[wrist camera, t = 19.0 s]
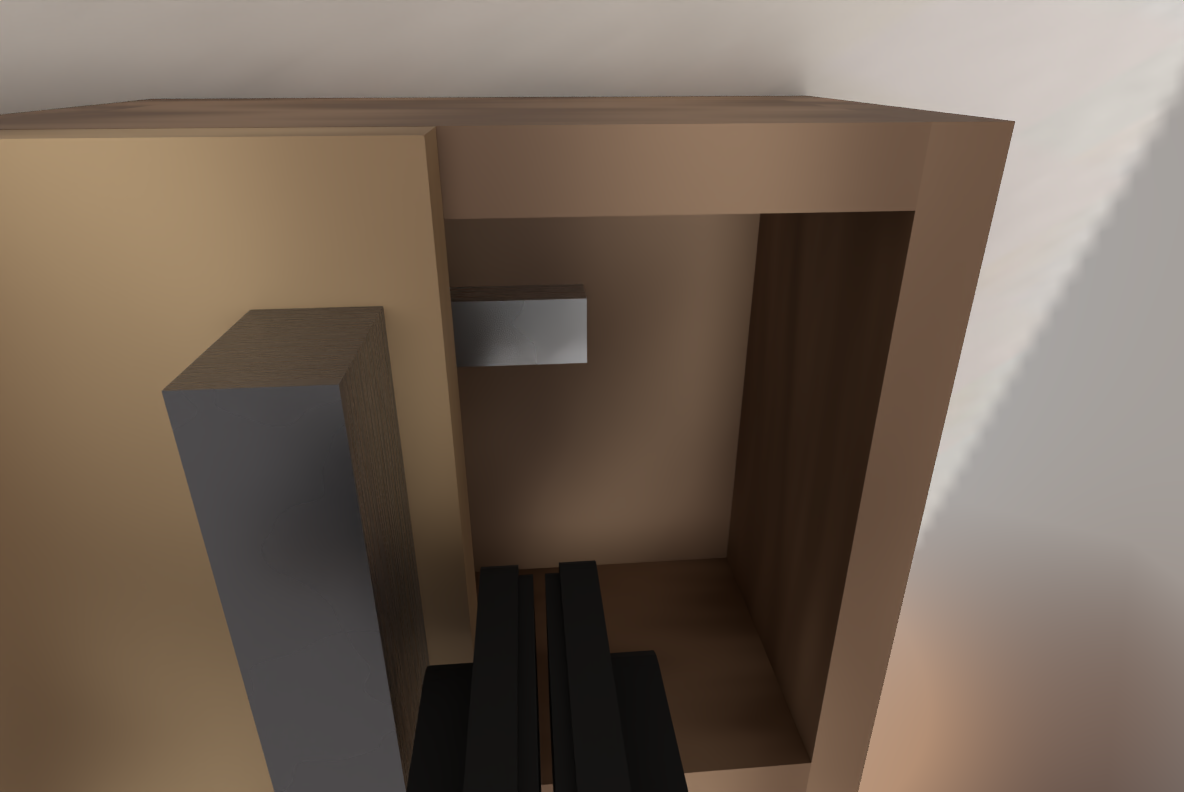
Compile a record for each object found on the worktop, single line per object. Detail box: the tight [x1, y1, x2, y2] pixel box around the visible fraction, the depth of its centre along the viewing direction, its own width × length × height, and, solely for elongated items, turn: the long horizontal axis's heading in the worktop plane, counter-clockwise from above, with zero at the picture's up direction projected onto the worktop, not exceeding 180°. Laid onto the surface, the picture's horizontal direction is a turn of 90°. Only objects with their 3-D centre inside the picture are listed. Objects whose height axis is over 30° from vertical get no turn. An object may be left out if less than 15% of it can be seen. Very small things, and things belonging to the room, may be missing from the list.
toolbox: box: [0, 96, 1015, 792], centre depth 16 cm, size 15×14×8 cm
